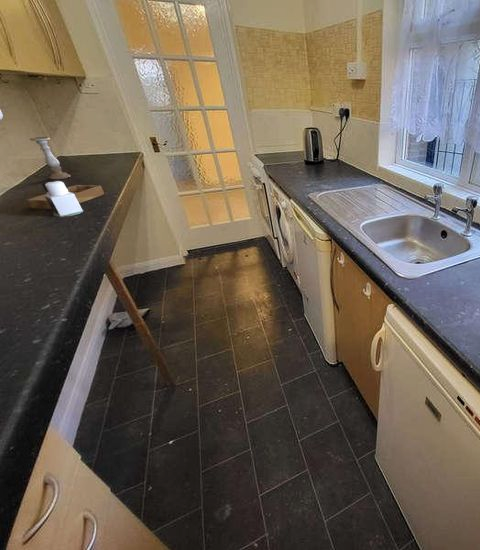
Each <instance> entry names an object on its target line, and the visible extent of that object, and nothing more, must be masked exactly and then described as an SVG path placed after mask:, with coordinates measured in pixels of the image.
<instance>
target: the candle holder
mask: <svg viewBox="0 0 480 550" xmlns="http://www.w3.org/2000/svg"><path fill="white" fill-rule="evenodd" d="M29 140H30V141H32V142H33V141H34V142H35V143H36V144H38V145H39V146H40V150H41V151H42V152H43V154H44V157H45V158H44V159H45V164H46V166H48V167H49V170H51V171H52V173H51V174H50V175H49V176H48V177H49V179H50V180H63V179H64V180H65V179H69V178H71V177H72V176H71V174H69V173H68V172H65V171H64V172H63V170H62V167H61V166H60V165H61V161H59V160H58V159H57V157H55V156H54V155H53V153H52V152H51V151H52V150H51V147H50V146H48V144H49V143H48V140H51V137H50V136H36V137H35V136H34V137H30V138H29ZM68 177H69V178H68Z"/></svg>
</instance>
